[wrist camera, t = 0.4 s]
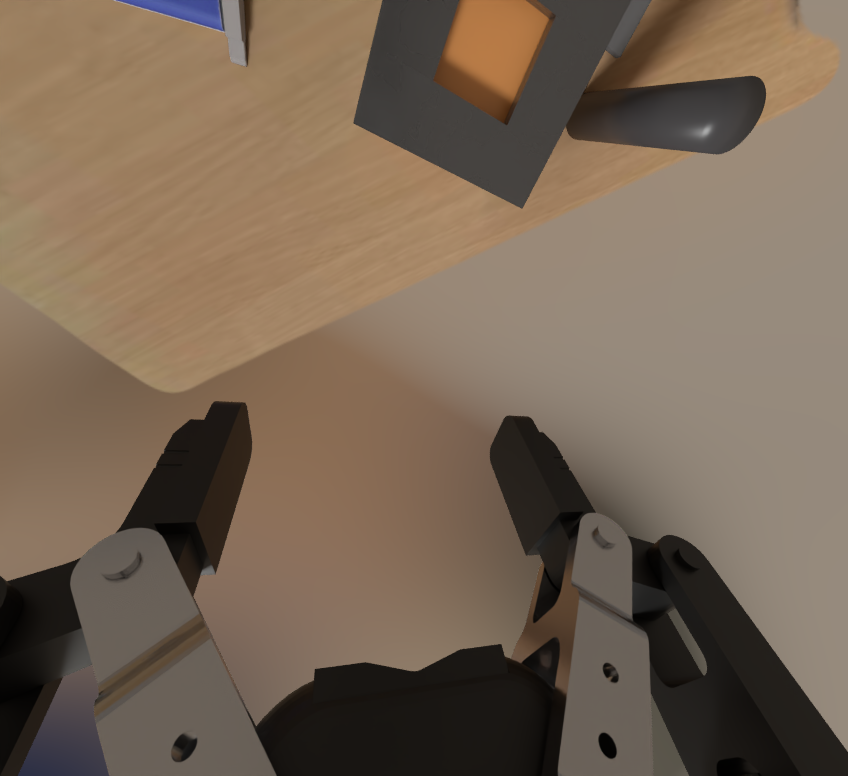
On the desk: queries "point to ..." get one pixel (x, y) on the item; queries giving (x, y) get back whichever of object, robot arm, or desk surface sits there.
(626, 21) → the pad
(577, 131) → the handle
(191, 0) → the hard drive
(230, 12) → the caliper
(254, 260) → the desk surface
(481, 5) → the button
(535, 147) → the grey boxy frame
